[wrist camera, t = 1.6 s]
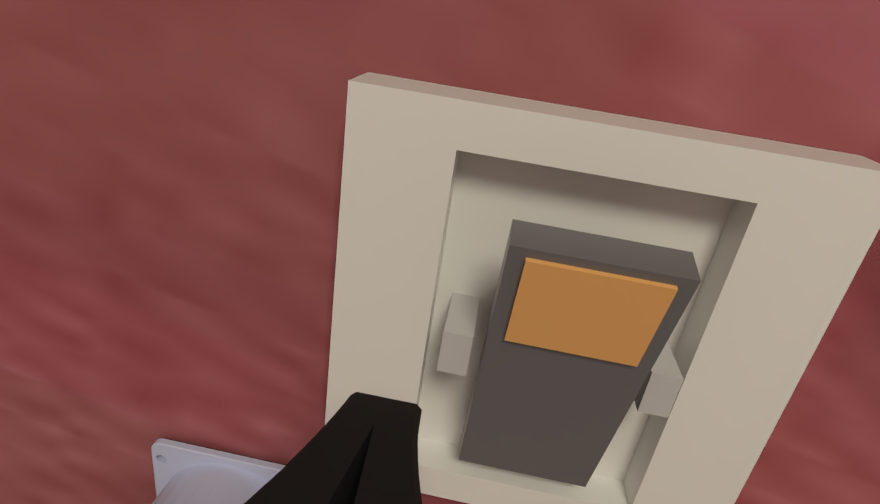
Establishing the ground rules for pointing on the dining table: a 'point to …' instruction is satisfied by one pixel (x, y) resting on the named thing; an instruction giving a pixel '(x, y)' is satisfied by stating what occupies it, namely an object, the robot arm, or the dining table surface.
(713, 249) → the breaker housing
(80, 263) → the dining table surface
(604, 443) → the rocker
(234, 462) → the robot arm
